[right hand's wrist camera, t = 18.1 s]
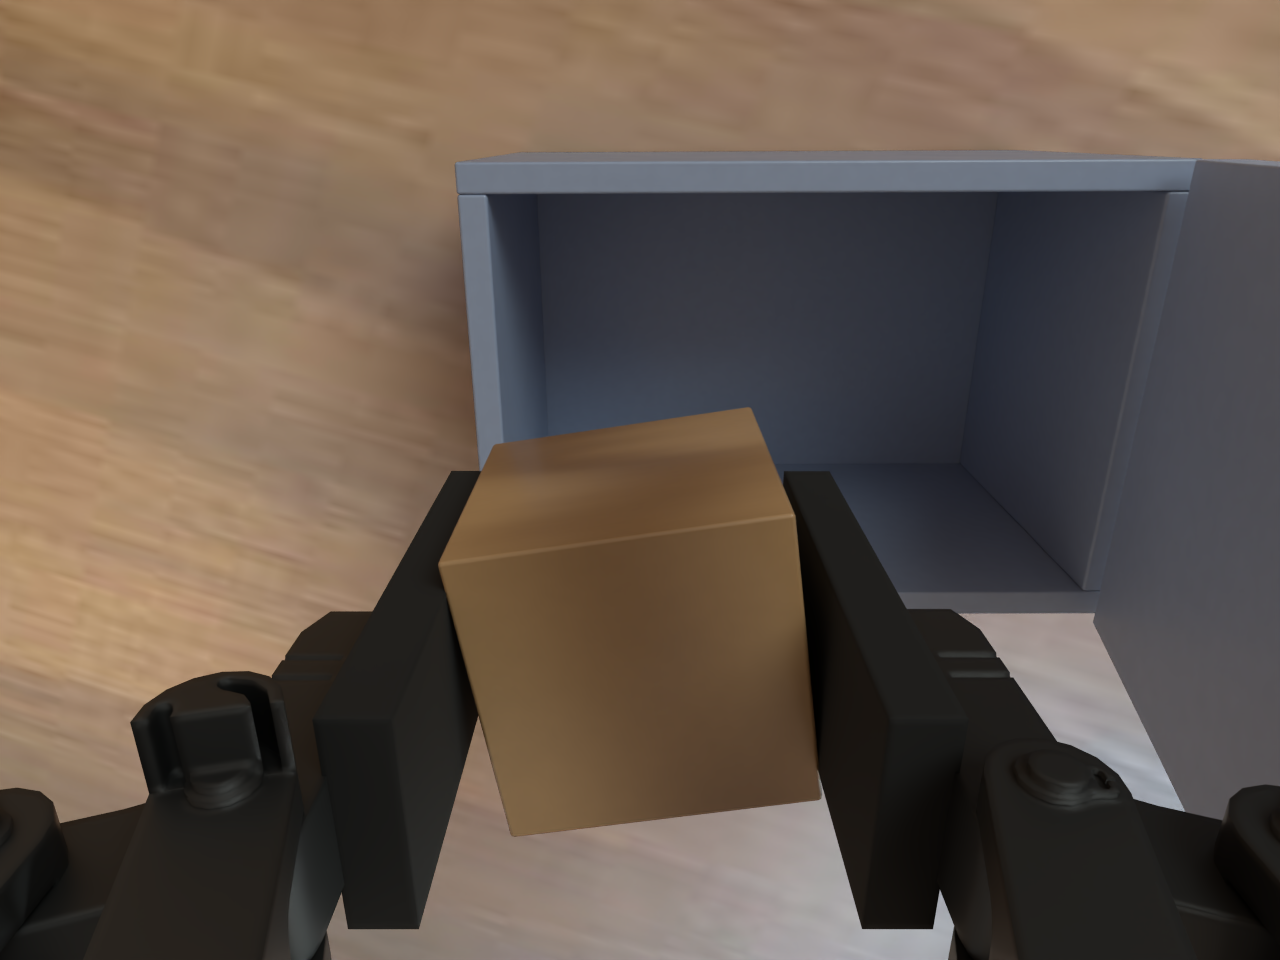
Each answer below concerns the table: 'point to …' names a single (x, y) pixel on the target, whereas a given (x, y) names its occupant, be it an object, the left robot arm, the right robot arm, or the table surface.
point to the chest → (848, 332)
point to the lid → (1207, 502)
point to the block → (635, 624)
